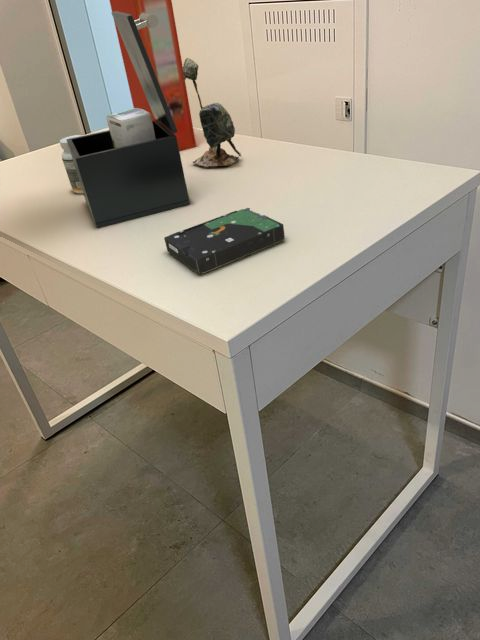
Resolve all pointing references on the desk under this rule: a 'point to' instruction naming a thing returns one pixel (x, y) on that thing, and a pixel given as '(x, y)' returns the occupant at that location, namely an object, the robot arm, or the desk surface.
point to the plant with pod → (212, 126)
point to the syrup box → (130, 127)
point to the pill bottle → (70, 165)
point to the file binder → (159, 64)
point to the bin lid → (144, 63)
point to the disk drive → (224, 239)
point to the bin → (129, 175)
